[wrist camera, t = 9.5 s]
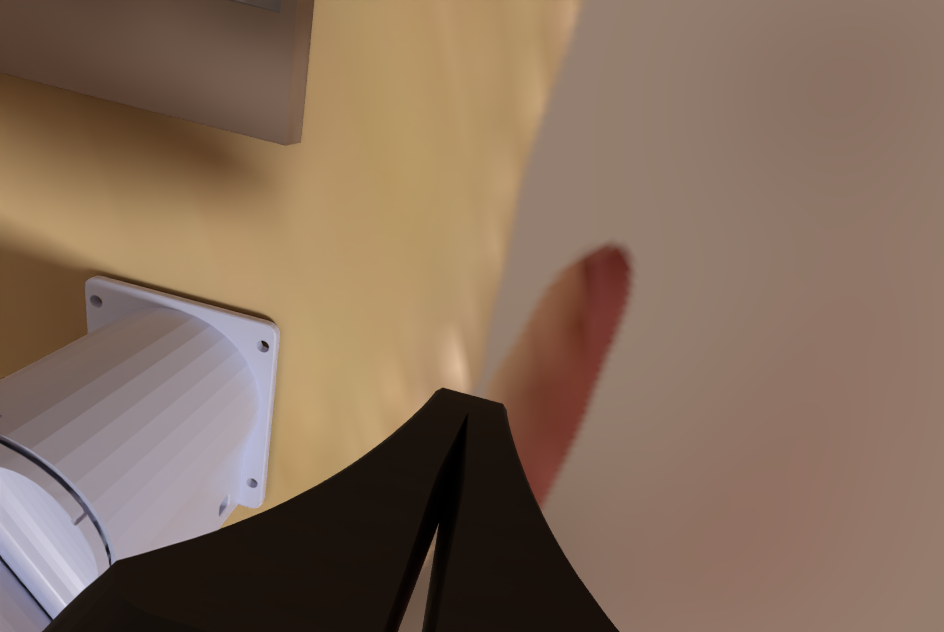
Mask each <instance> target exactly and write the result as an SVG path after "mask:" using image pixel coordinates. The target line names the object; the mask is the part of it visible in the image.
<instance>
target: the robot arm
mask: <svg viewBox="0 0 944 632" xmlns="http://www.w3.org/2000/svg"><path fill="white" fill-rule="evenodd" d="M97 296H98V297H99V298H100V299H101V300H102V303H101V302H100V301H99V300H98V297H97ZM85 300H86V315H87V331H88V334H87V335H85V336H83V337H81V338H79V339H77V340H75V341H73V342H71V343H69V344H67V345H66V346H64V347H62V348H60V349H58V350H56V351H54V352H52V353H50V354H48V355H46V356H44V357H43V358H41V359H39V360H37V361H35V362H33V363H31V364H29V365H27V366H25V367H23V368H21V369H20V370H18V371H16V372H14V373H12V374H10V375H8V376H6V377H4V378H2V379H0V632H398V630H399V627H400V624H401V622H402V619H403V616H404V614H405V611H406V608H407V606H408V603H409V601H410V598H411V595H412V593H413V590H414V587H415V585H416V582H417V579H418V577H419V574H420V572H421V569H422V566H423V564H424V561H425V558H426V556H427V553H428V550H429V548H430V545H431V542H432V540H433V537H434V534H435V532H436V529H437V526H438V524H439V526H438V532H437V539H436V545H435V551H434V558H433V564H432V571H431V577H430V583H429V590H428V596H427V603H426V610H425V615H424V622H423V629H422V632H619V631H618V629H617V628H616V627H615V626H614V624H613V623H612V622H611V621H610V619H609V618H608V617H607V616H606V614H605V613H604V612H603V610H602V609H601V607H600V606H599V605H598V603H597V602H596V600H595V599H594V598H593V596H592V595H591V593H590V592H589V591H588V589H587V588H586V587H585V585H584V584H583V582H582V581H581V579H580V578H579V577H578V575H577V574H576V572H575V571H574V569H573V567H572V566H571V564H570V563H569V561H568V559H567V558H566V556H565V555H564V553H563V551H562V549H561V548H560V546H559V544H558V542H557V541H556V539H555V537H554V535H553V534H552V532H551V530H550V528H549V526H548V524H547V522H546V520H545V518H544V516H543V514H542V512H541V510H540V508H539V505H538V503H537V501H536V499H535V497H534V495H533V492H532V490H531V488H530V485H529V483H528V480H527V478H526V475H525V473H524V470H523V467H522V465H521V462H520V459H519V457H518V454H517V450H516V447H515V444H514V441H513V437H512V434H511V430H510V426H509V422H508V417H507V410H506V409H505V407H504V405H503V404H501V403H498V402H494V401H490V400H487V399H483V398H479V397H476V396H472V395H468V394H464V393H461V392H457V391H453V390H450V389H446V388H441V389H439V390H437V391H436V392H435V393H434V394H433V396H432V397H431V398H430V399H429V400H428V401H427V402H426V403H425V404H424V406H423V407H422V408H421V409H420V410H419V411H417V412H416V413H415V414H414V415H413V416H412V417H411V418H410V419H409V420H408V421H407V422H406V423H404V424H403V425H402V426H401V427H400V428H399V429H397V430H396V431H395V432H394V433H393V434H392V435H391V436H389V437H388V438H387V439H386V440H384V441H383V442H382V443H380V444H379V445H378V446H376V447H375V448H373V449H372V450H371V451H369V452H368V453H367V454H365V455H364V456H363V457H361V458H360V459H359V460H357V461H356V462H354V463H353V464H351V465H350V466H348V467H347V468H345V469H343V470H342V471H340V472H339V473H337V474H335V475H334V476H332V477H330V478H329V479H327V480H325V481H324V482H322V483H320V484H318V485H317V486H315V487H313V488H311V489H309V490H307V491H305V492H303V493H301V494H299V495H297V496H295V497H294V498H292V499H290V500H288V501H286V502H284V503H282V504H279V505H277V506H275V507H273V508H271V509H269V510H267V511H264V512H262V513H259V514H257V515H254V516H252V517H250V518H247V519H245V520H242V521H240V522H237V523H235V524H232V525H229V526H227V527H224V528H221V529H219V528H220V527H221V526H222V524H223V523H224V522H225V520H226V519H227V518H228V517H229V515H230V514H231V513H232V511H233V510H234V509H235V507H236V506H237V505H238V504H239V505H242V506H246V507H250V508H257V507H259V506H260V505H261V504H262V503H263V501H264V499H265V491H266V480H267V469H268V459H269V448H270V437H271V426H272V415H273V405H274V394H275V383H276V372H277V361H278V350H279V340H280V331H279V329H278V327H277V326H276V325H275V324H274V323H273V322H271V321H268V320H265V319H261V318H257V317H253V316H250V315H246V314H242V313H238V312H235V311H231V310H227V309H224V308H220V307H216V306H212V305H209V304H205V303H201V302H197V301H194V300H190V299H186V298H183V297H179V296H175V295H171V294H168V293H164V292H160V291H156V290H153V289H149V288H145V287H142V286H138V285H134V284H130V283H127V282H123V281H119V280H115V279H112V278H108V277H104V276H98V275H97V276H94V277H92V278H89V279H87V281H86V282H85ZM261 341H265V342H267V344H268V345H269V348H266V347H264V346H263V345H262V342H261ZM252 478H253V479H254V480H256V481H257V482H255V481H253V480H252Z"/></svg>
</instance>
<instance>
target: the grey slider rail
mask: <svg viewBox="0 0 944 632" xmlns="http://www.w3.org/2000/svg"><path fill="white" fill-rule="evenodd" d="M313 8H314V0H0V73H3V74H7V75H11V76H15V77H19V78H23V79H27V80H31V81H34V82H38V83H42V84H46V85H50V86H54V87H58V88H62V89H66V90H70V91H74V92H78V93H81V94H85V95H89V96H93V97H97V98H101V99H105V100H109V101H113V102H117V103H121V104H125V105H128V106H132V107H136V108H140V109H144V110H148V111H152V112H156V113H160V114H164V115H168V116H172V117H176V118H179V119H183V120H187V121H191V122H195V123H199V124H203V125H207V126H211V127H215V128H219V129H223V130H226V131H230V132H234V133H238V134H242V135H246V136H250V137H254V138H258V139H262V140H266V141H270V142H273V143H277V144H281V145H290V144H295V143H300V142H301V134H302V124H303V113H304V103H305V92H306V82H307V71H308V61H309V50H310V39H311V29H312V18H313Z"/></svg>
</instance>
